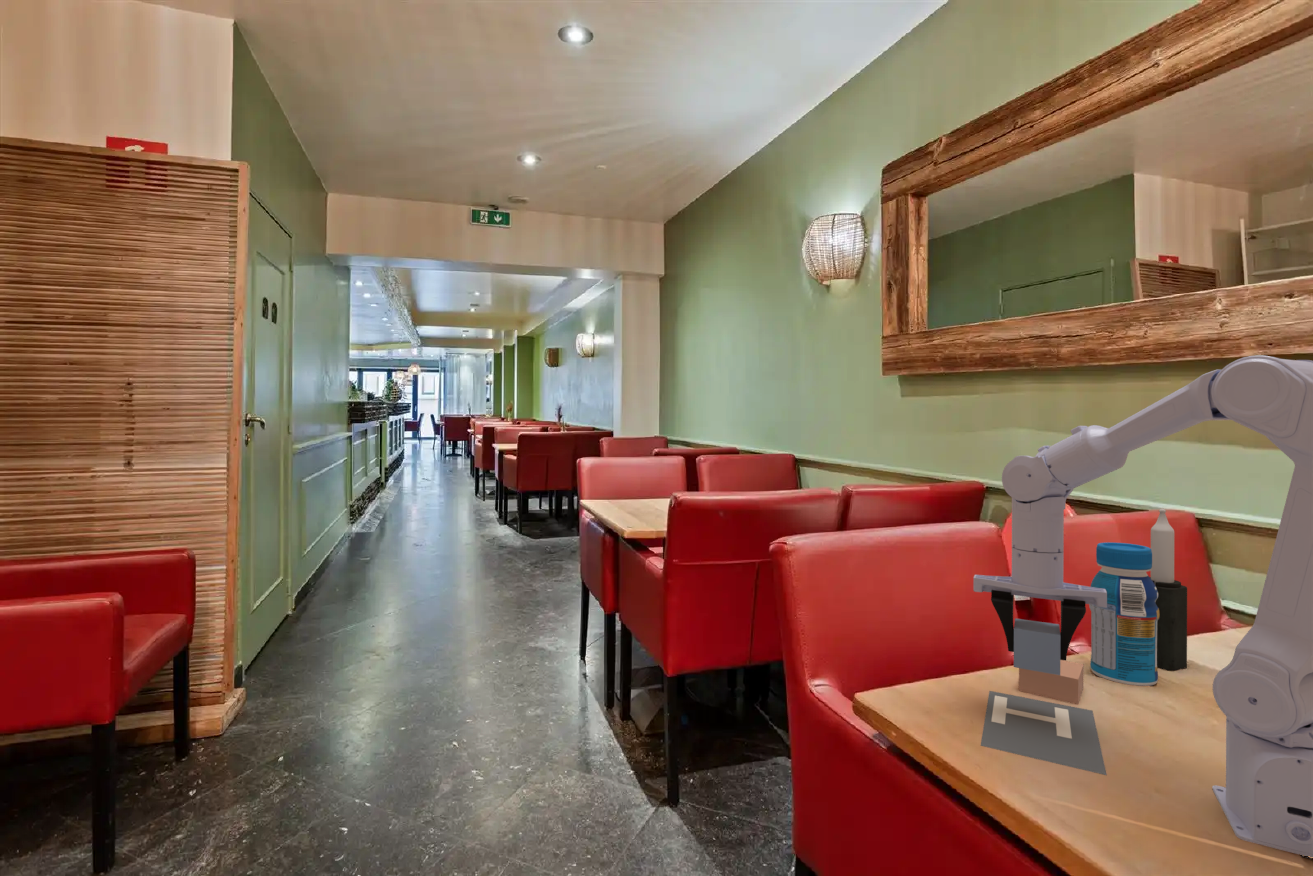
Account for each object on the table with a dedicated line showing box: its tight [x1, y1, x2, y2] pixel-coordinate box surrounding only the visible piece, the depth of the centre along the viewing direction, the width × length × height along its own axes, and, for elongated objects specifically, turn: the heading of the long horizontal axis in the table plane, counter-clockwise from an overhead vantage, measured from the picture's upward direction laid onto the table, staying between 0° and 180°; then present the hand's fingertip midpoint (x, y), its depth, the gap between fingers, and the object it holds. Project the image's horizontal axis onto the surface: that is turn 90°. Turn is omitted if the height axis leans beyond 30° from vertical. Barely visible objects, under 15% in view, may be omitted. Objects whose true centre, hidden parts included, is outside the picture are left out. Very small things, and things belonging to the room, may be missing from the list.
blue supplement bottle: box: [1088, 541, 1160, 687], centre depth 93 cm, size 8×8×20 cm
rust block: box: [1018, 660, 1085, 705], centre depth 88 cm, size 7×7×4 cm
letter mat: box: [980, 690, 1108, 776], centre depth 76 cm, size 18×12×1 cm, turn 148°
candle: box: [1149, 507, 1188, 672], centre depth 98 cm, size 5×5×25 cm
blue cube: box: [1013, 618, 1061, 675], centre depth 79 cm, size 5×5×5 cm
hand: (1036, 653), depth 79 cm, fingers closed on blue cube, 5 cm apart
